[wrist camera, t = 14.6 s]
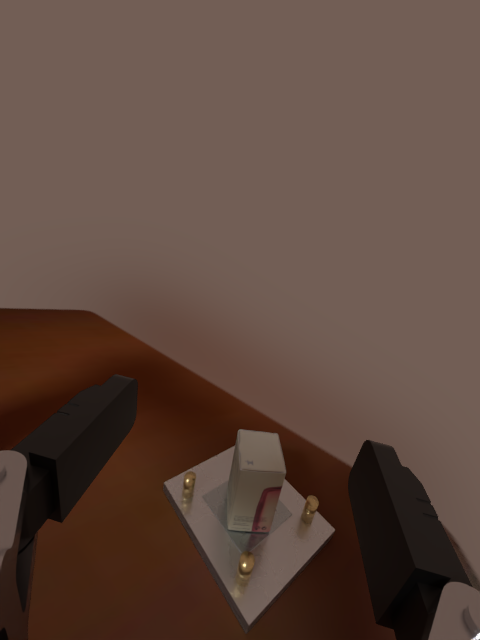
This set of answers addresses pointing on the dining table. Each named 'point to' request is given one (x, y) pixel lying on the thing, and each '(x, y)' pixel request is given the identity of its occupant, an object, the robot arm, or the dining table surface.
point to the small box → (254, 481)
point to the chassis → (247, 538)
